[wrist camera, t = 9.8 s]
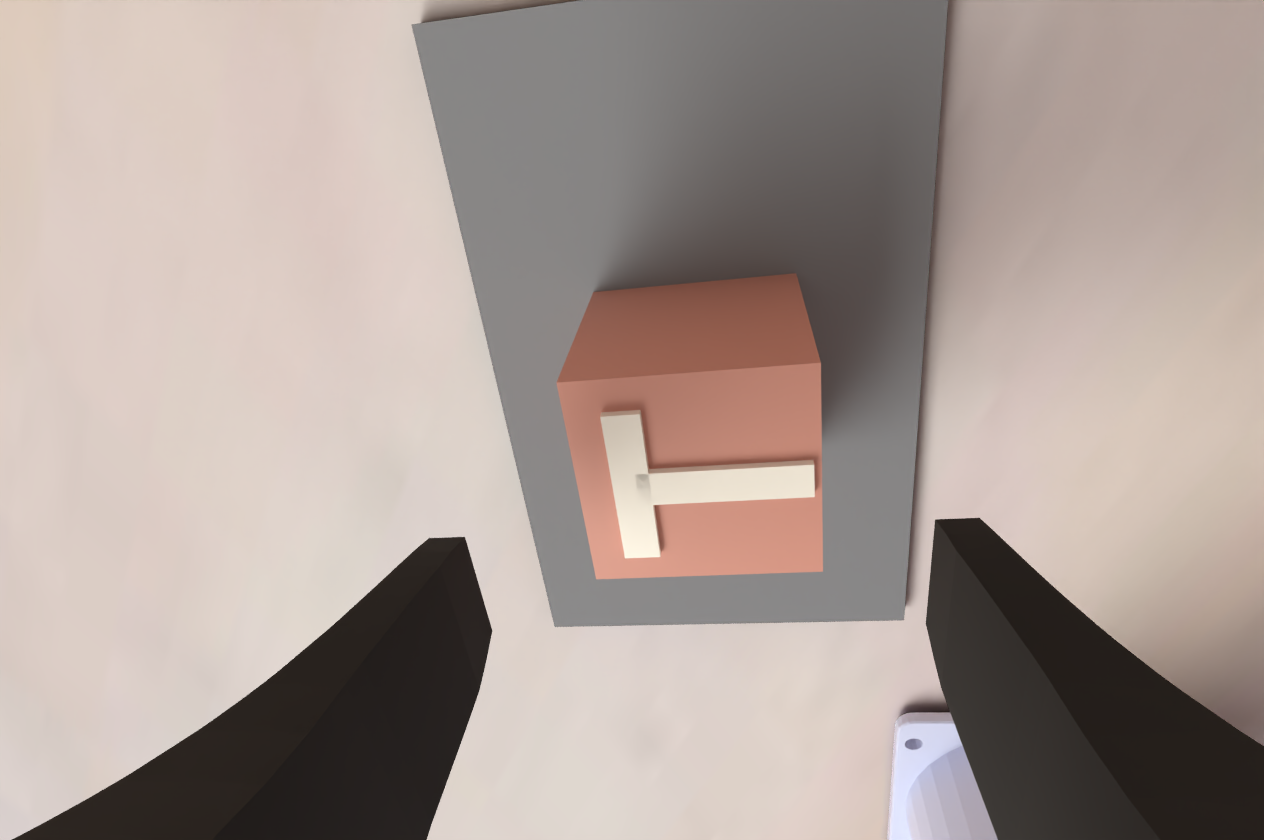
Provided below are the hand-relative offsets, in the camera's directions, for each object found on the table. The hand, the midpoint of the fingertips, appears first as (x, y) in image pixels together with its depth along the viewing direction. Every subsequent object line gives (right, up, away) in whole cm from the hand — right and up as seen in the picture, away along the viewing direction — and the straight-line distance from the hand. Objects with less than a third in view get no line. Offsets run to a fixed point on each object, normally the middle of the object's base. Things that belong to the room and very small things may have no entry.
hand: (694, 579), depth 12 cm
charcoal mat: (+1, +4, +6) cm, 7 cm away
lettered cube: (+1, +4, +6) cm, 7 cm away
